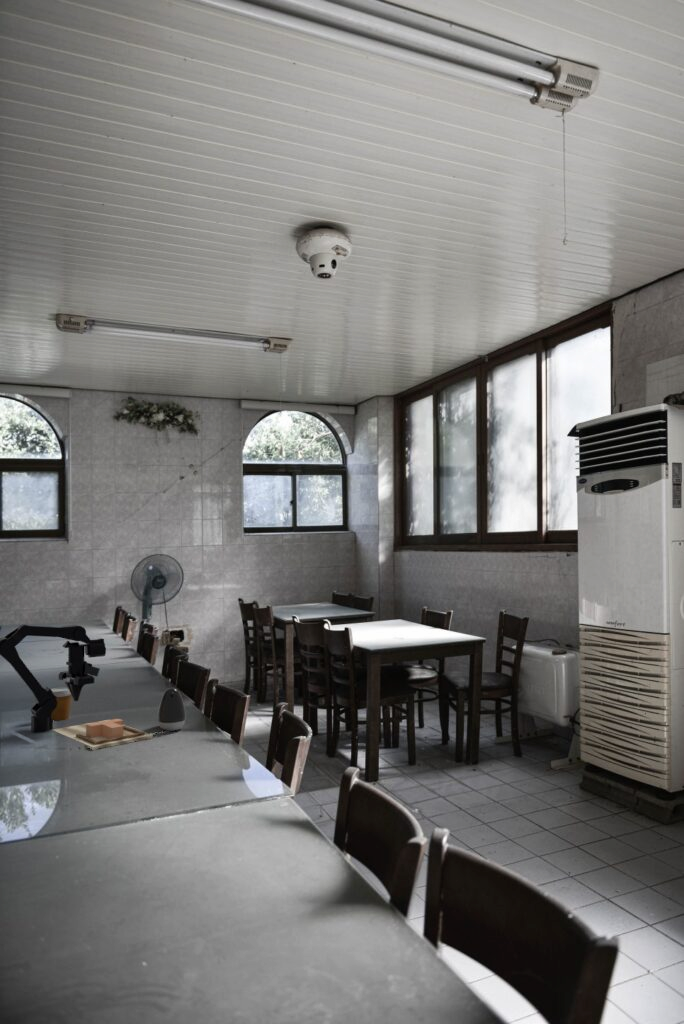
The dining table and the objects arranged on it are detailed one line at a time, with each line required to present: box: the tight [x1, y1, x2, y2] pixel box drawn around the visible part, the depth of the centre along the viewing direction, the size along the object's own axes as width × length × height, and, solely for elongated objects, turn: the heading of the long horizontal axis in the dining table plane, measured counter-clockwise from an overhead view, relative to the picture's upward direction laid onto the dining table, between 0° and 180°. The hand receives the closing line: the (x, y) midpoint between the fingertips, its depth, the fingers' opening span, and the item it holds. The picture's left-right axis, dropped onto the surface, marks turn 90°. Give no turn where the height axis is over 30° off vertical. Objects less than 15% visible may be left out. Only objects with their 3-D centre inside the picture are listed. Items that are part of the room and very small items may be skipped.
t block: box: [85, 718, 124, 739], centre depth 255 cm, size 12×12×4 cm
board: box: [52, 719, 154, 751], centre depth 260 cm, size 22×34×2 cm, turn 43°
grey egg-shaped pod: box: [157, 687, 187, 732], centre depth 267 cm, size 10×10×15 cm
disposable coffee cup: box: [50, 686, 73, 722], centre depth 284 cm, size 10×10×12 cm
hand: (76, 701), depth 271 cm, fingers closed
